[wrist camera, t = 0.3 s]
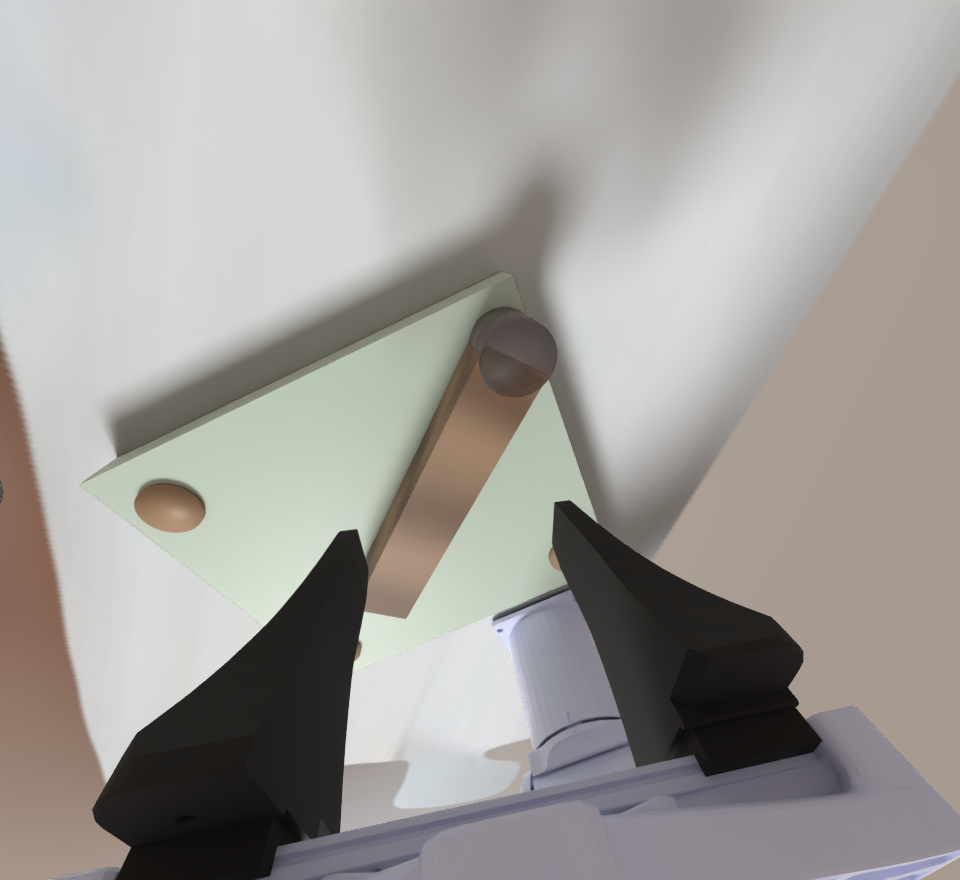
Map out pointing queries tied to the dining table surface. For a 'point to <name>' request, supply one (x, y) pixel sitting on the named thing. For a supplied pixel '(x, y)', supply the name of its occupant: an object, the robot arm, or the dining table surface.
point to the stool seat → (352, 480)
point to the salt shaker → (1, 492)
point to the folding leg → (458, 454)
